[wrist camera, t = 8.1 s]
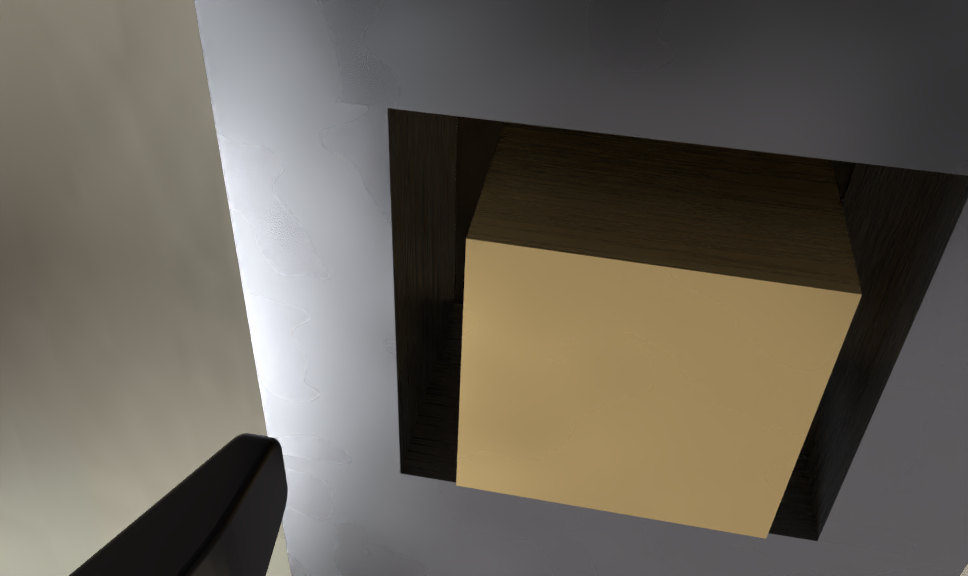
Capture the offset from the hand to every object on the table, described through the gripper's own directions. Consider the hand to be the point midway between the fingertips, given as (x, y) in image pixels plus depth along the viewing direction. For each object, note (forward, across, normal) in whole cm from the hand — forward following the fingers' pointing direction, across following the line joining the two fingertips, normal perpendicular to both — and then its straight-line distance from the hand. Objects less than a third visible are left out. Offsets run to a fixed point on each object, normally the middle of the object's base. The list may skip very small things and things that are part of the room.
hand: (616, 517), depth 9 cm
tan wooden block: (+7, 0, 0) cm, 7 cm away
